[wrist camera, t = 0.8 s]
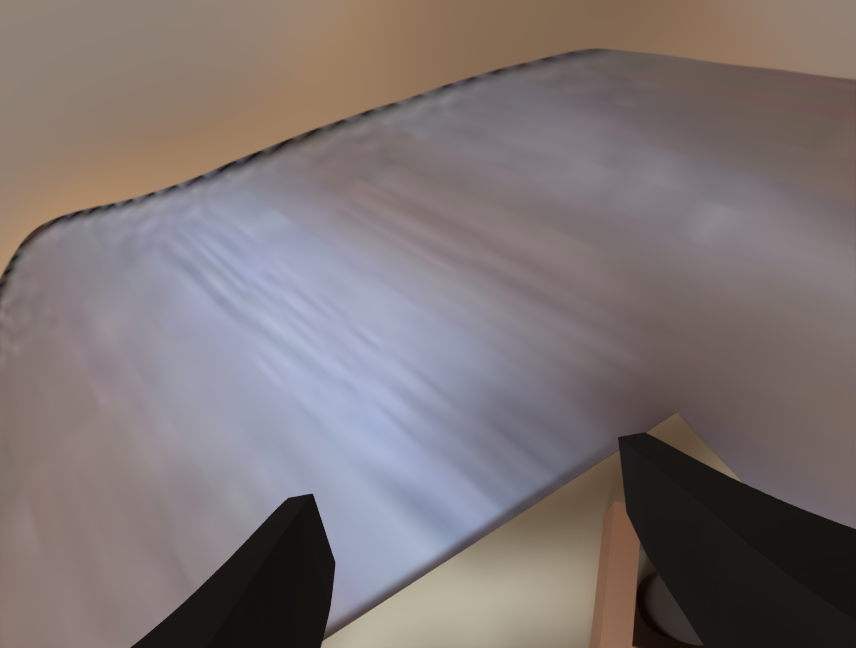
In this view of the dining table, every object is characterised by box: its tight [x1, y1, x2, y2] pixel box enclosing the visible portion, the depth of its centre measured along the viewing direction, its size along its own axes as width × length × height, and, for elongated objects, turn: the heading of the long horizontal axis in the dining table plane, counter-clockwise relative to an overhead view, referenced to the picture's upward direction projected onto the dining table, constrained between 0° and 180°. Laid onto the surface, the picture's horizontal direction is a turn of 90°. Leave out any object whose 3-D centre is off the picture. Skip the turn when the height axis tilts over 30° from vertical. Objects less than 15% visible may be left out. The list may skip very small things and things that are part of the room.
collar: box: [590, 501, 644, 648], centre depth 18 cm, size 6×6×4 cm
